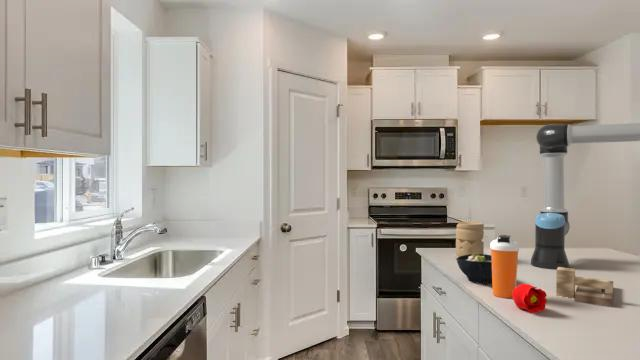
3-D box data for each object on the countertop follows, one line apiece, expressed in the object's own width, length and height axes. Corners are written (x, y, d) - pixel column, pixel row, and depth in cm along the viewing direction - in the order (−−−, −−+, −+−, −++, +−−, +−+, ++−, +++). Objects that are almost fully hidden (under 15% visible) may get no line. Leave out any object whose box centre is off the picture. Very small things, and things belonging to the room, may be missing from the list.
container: (457, 262, 198) (458, 224, 198) (453, 257, 210) (454, 221, 210) (486, 263, 196) (486, 224, 196) (480, 258, 208) (480, 221, 208)
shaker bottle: (517, 293, 145) (517, 235, 145) (520, 300, 137) (520, 238, 137) (489, 290, 148) (489, 233, 148) (490, 297, 140) (491, 237, 140)
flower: (532, 287, 133) (551, 293, 125) (524, 310, 132) (542, 318, 124) (512, 278, 131) (530, 283, 123) (503, 301, 130) (521, 308, 123)
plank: (574, 301, 136) (574, 293, 136) (580, 283, 159) (580, 277, 159) (612, 307, 130) (612, 299, 130) (613, 288, 153) (613, 281, 153)
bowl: (504, 278, 167) (504, 253, 167) (503, 288, 151) (503, 260, 151) (459, 274, 174) (459, 249, 174) (453, 283, 158) (454, 256, 158)
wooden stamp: (556, 296, 142) (556, 269, 142) (558, 292, 146) (558, 266, 146) (608, 303, 134) (608, 275, 133) (608, 300, 138) (609, 272, 138)
